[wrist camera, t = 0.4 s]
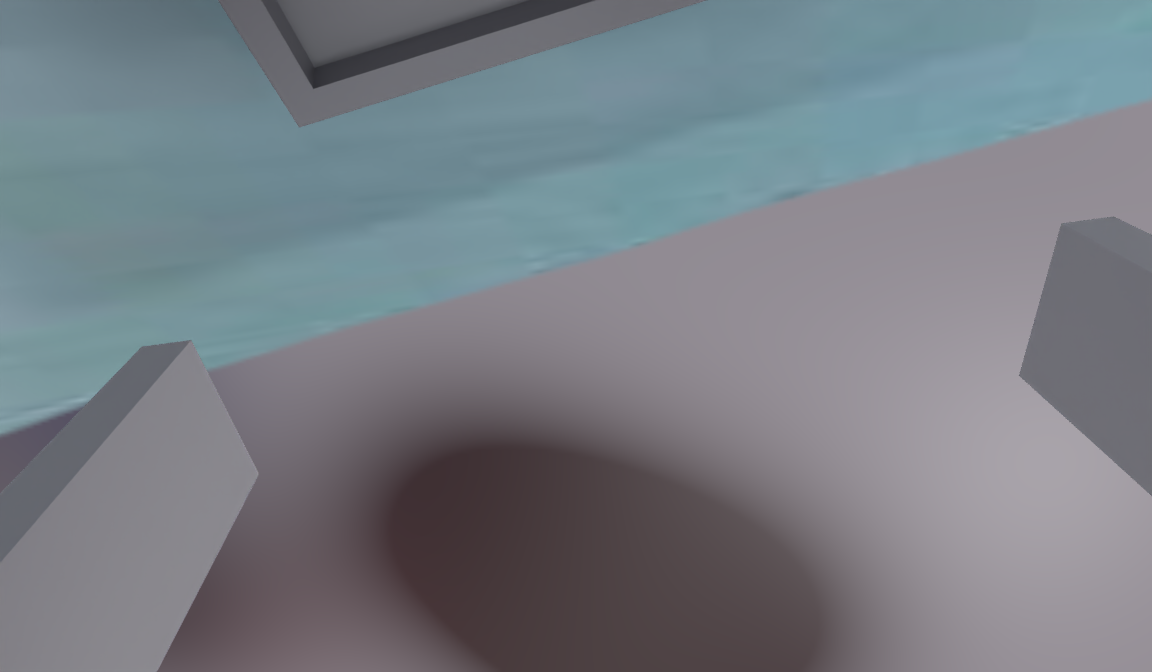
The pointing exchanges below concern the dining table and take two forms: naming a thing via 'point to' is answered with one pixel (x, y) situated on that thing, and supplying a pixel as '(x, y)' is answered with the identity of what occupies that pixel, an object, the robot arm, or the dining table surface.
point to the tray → (408, 42)
